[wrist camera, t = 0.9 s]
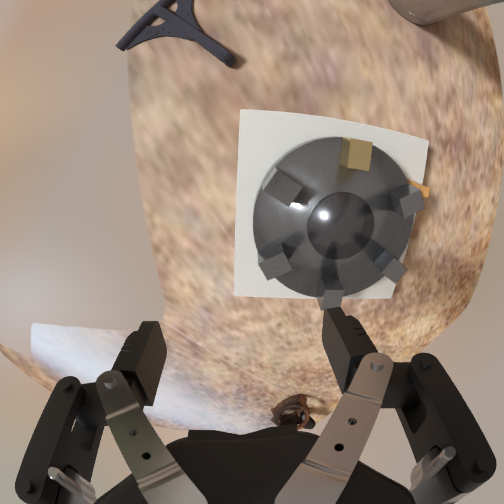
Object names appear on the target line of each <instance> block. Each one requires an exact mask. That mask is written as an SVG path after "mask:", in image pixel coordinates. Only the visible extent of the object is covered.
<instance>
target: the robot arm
mask: <svg viewBox="0 0 504 504" xmlns="http://www.w3.org/2000/svg"><path fill="white" fill-rule="evenodd" d="M389 2H390V4H391V5H392V6H393V7H394V9H395V10H396V11H397V12H398V13H400V14H401V15H402V16H403V17H405V18H406V19H407V20H409V21H411V22H413V23H415V24H418V25H423V26H426V25H430V24H433V23H436V22H438V21H441V20H444V19H447V18H450V17H452V16H455V15H458V14H461V13H464V12H468V11H471V10H474V9H478V8H481V7H485V6H489V5H492V4H496V3H501V2H504V0H389ZM322 342H323V346H324V349H325V351H326V354H327V356H328V359H329V361H330V364H331V366H332V369H333V372H334V374H335V377H336V379H337V382H338V385H339V387H340V390H341V392H342V394H343V396H342V397H341V399H340V401H339V403H338V405H337V407H336V409H335V411H334V412H333V414H332V416H331V418H330V419H329V421H328V423H327V425H326V426H325V428H324V430H323V432H322V433H321V435H320V436H318V435H316V434H312V433H309V432H303V431H297V426H296V424H294V425H286V426H277V427H269V428H266V429H262V430H259V431H255V432H252V433H248V434H244V435H238V434H232V433H227V432H221V431H216V430H189V432H188V437H185V438H181V439H178V440H175V441H173V442H171V443H169V444H167V445H166V446H165V445H164V444H163V442H162V441H161V439H160V438H159V436H158V435H157V433H156V431H155V430H154V428H153V427H152V425H151V424H150V422H149V420H148V419H147V417H146V415H145V414H144V412H143V408H144V406H153V403H154V399H155V396H156V392H157V388H158V385H159V381H160V377H161V374H162V370H163V367H164V363H165V360H166V356H167V348H166V344H165V341H164V337H163V334H162V331H161V328H160V324H159V322H158V321H143V322H142V323H141V325H140V327H139V329H138V331H134V332H132V333H131V334H130V335H129V336H128V337H127V339H126V341H125V343H124V346H123V347H122V349H121V351H120V353H119V355H118V357H117V359H116V361H115V363H114V365H113V367H112V369H111V370H110V371H106V372H104V373H102V374H101V375H100V376H99V377H98V378H97V380H96V382H94V383H87V384H81V383H80V381H79V380H78V379H77V378H76V377H73V376H68V377H64V378H62V379H61V380H60V381H58V383H57V384H56V386H55V388H54V390H53V392H52V394H51V396H50V398H49V400H48V402H47V404H46V406H45V408H44V410H43V412H42V415H41V417H40V419H39V421H38V424H37V426H36V428H35V430H34V433H33V435H32V438H31V440H30V442H29V445H28V447H27V450H26V453H25V455H24V458H23V461H22V464H21V466H20V470H19V472H18V475H17V478H16V482H15V490H16V493H17V495H18V497H19V498H20V499H21V500H23V501H24V502H25V503H27V504H454V503H455V502H457V501H459V500H460V499H462V498H463V497H465V496H466V495H468V494H469V493H471V492H472V491H474V490H475V489H476V488H478V487H479V486H481V485H482V484H483V483H485V482H486V481H487V480H489V479H490V478H491V477H492V475H493V474H494V472H495V470H496V458H495V456H494V454H493V452H492V450H491V448H490V446H489V444H488V442H487V440H486V438H485V436H484V434H483V432H482V430H481V429H480V427H479V425H478V423H477V421H476V420H475V418H474V416H473V414H472V413H471V411H470V409H469V408H468V406H467V405H466V402H465V401H464V399H463V398H462V396H461V394H460V393H459V391H458V389H457V388H456V386H455V385H454V383H453V382H452V380H451V378H450V377H449V375H448V374H447V373H446V371H445V369H444V368H443V366H442V365H441V363H440V362H439V361H438V359H437V358H436V357H435V356H433V355H431V354H429V353H418V354H416V355H414V356H413V358H412V359H411V362H393V361H392V359H391V358H390V357H389V356H387V355H385V354H383V353H378V351H377V349H376V348H375V346H374V344H373V343H372V341H371V339H370V338H369V336H368V335H367V334H366V331H365V330H364V329H363V327H362V325H361V323H360V322H359V320H357V319H356V318H354V317H353V316H351V315H350V316H346V315H345V314H344V312H343V310H342V309H341V307H335V308H327V309H325V310H324V316H323V328H322ZM380 408H395V409H396V411H397V414H398V416H399V419H400V421H401V423H402V426H403V428H404V431H405V433H406V436H407V439H408V441H409V444H410V446H411V449H412V452H413V454H414V457H415V460H416V462H417V465H416V466H415V467H414V468H413V470H412V472H411V488H410V490H408V489H407V488H406V487H404V486H403V485H401V484H399V483H397V482H395V481H393V480H392V479H390V478H388V477H386V476H384V475H383V474H381V473H379V472H377V471H376V470H374V469H372V468H371V467H369V466H367V465H365V464H364V463H362V462H360V461H359V458H360V455H361V453H362V451H363V449H364V447H365V444H366V442H367V440H368V438H369V435H370V433H371V431H372V428H373V426H374V423H375V421H376V418H377V416H378V413H379V410H380ZM75 419H76V422H75V425H74V427H73V430H72V426H73V423H74V421H75ZM104 426H109V427H110V430H111V432H112V435H113V437H114V439H115V441H116V443H117V445H118V447H119V449H120V451H121V453H122V455H123V457H124V459H125V461H126V463H127V465H128V467H129V469H130V470H131V472H132V474H130V475H129V476H128V477H126V478H125V479H124V480H123V481H121V482H120V483H119V484H117V485H116V486H115V487H113V488H112V489H111V490H109V491H108V492H107V493H105V494H104V495H103V496H101V497H100V498H98V499H96V497H95V490H94V488H93V486H92V485H91V484H90V481H91V477H92V472H93V468H94V464H95V460H96V456H97V452H98V448H99V444H100V440H101V436H102V433H103V430H104ZM71 430H72V432H71Z"/></svg>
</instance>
